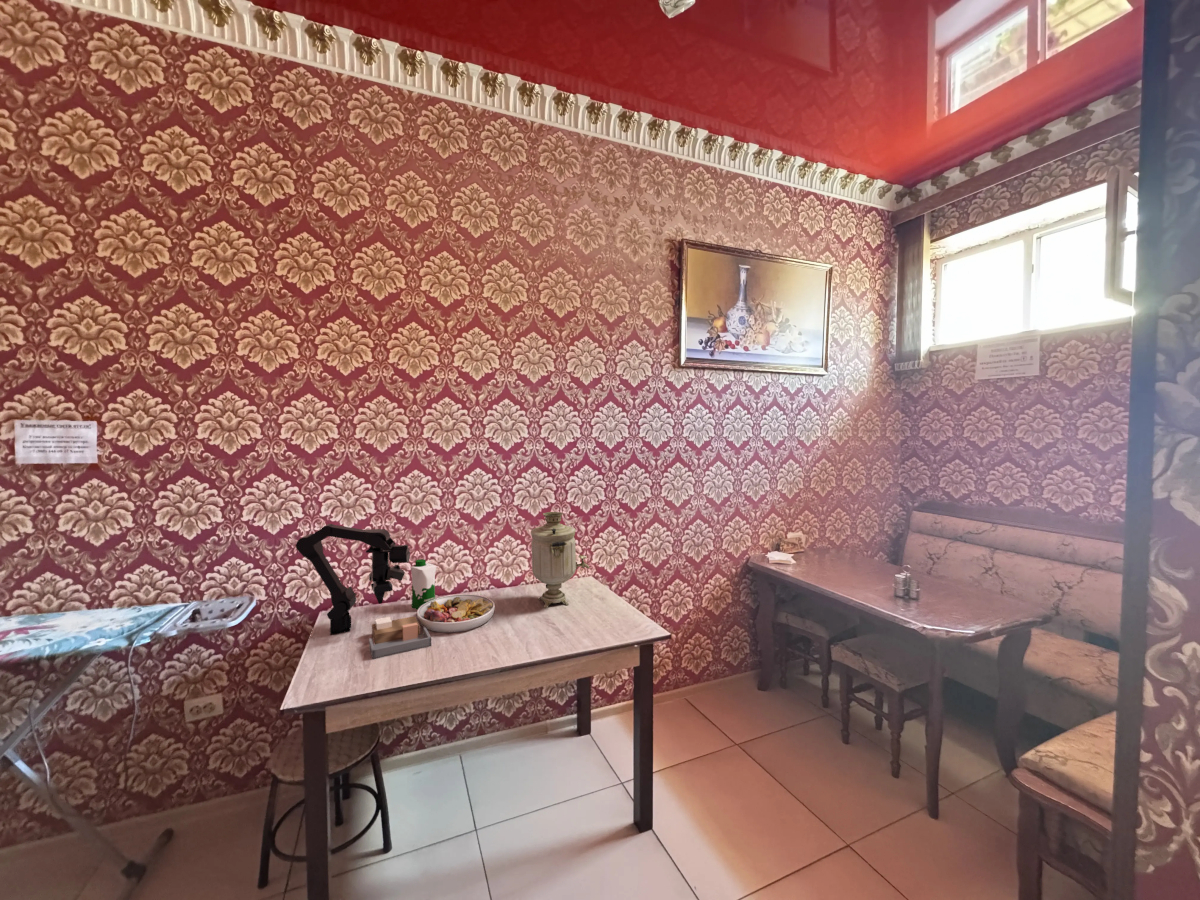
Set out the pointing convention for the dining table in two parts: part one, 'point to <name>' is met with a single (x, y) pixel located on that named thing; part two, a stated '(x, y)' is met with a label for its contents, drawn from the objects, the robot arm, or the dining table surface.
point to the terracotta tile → (409, 631)
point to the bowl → (455, 612)
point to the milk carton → (422, 583)
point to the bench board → (392, 630)
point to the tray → (399, 645)
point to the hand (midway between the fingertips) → (380, 603)
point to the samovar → (554, 556)
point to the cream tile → (383, 623)
